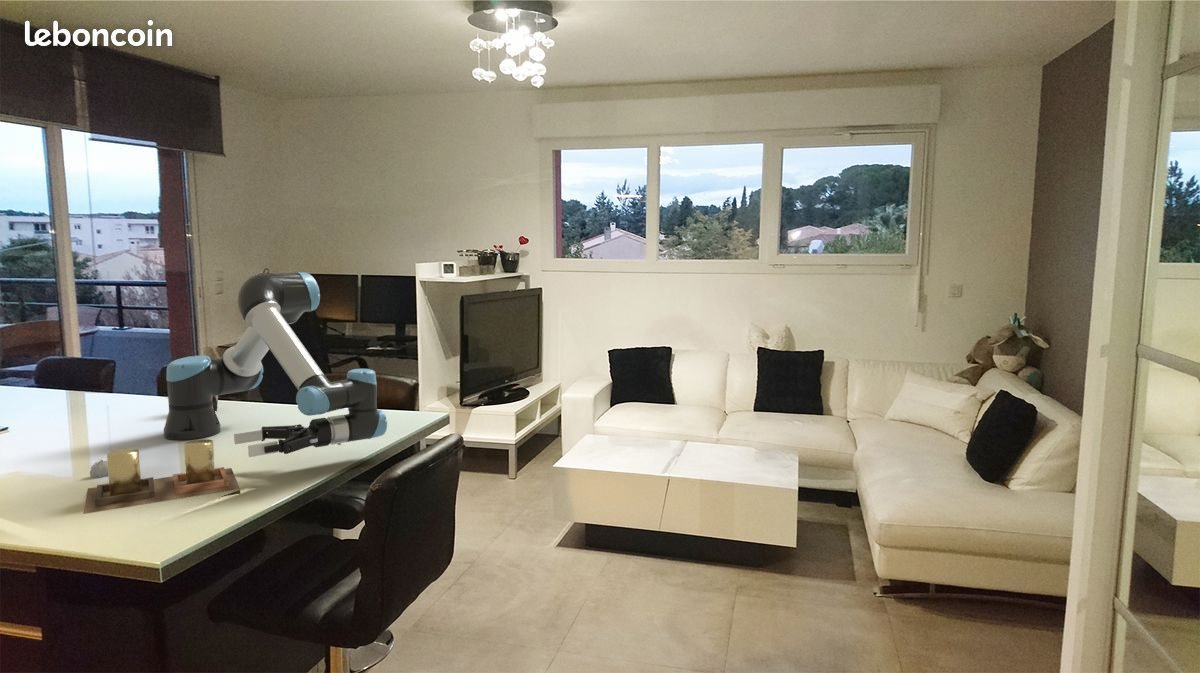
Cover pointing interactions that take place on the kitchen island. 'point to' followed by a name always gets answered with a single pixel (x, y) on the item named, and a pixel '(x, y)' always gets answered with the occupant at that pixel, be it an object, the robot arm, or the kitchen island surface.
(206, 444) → the brass billet
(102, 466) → the garlic
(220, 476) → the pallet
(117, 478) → the cylinder
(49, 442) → the kitchen island surface
